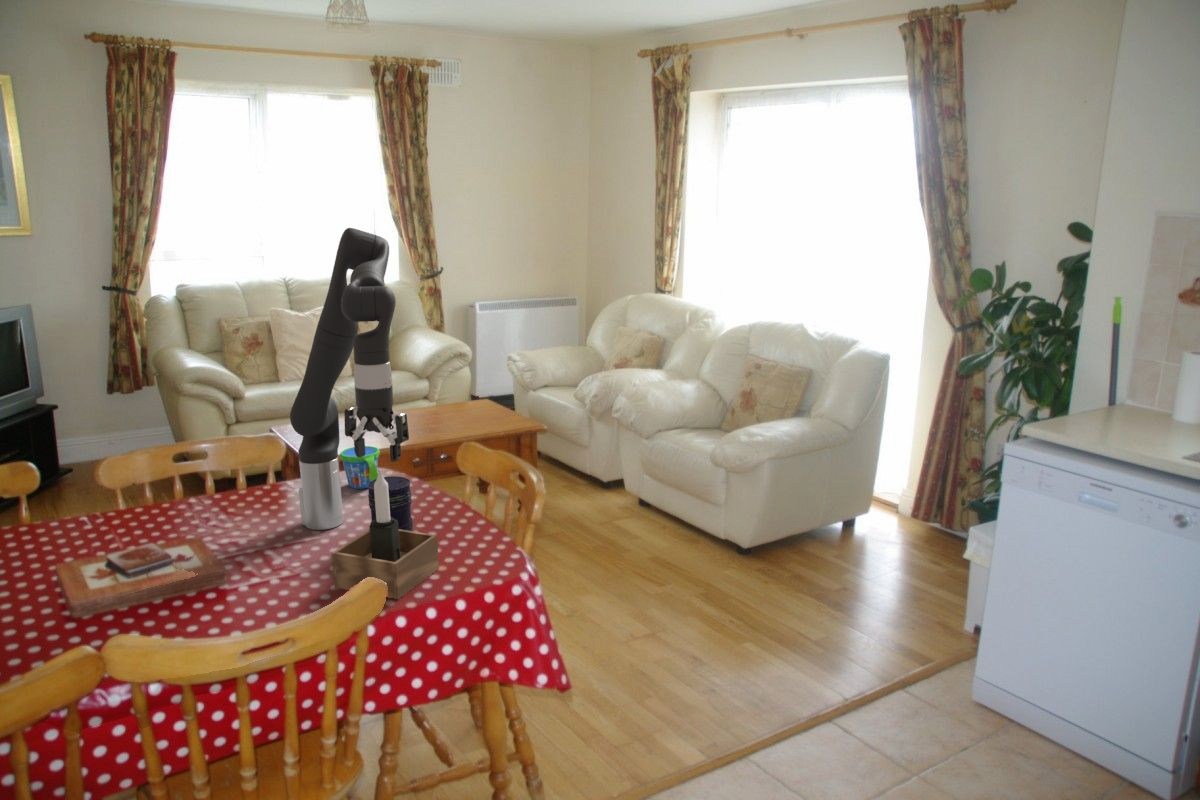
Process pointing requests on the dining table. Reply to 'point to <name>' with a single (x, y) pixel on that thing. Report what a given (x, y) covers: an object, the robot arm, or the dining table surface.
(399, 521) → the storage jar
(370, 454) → the snack cup
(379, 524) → the candle
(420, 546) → the peg box
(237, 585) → the dining table surface
